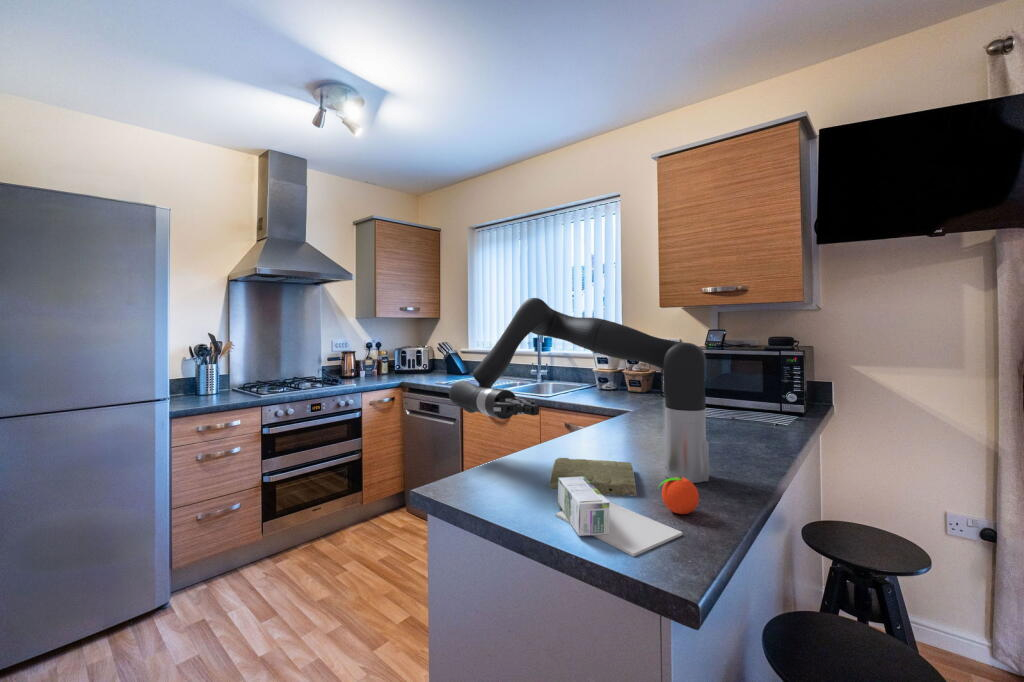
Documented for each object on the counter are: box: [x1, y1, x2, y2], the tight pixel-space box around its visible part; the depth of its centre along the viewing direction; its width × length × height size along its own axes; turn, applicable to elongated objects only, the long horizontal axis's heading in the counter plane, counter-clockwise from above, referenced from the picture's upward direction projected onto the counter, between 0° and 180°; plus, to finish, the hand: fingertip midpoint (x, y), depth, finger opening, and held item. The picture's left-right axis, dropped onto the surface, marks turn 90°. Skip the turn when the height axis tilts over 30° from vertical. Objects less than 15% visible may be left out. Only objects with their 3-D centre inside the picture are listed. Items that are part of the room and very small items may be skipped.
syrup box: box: [557, 476, 611, 537], centre depth 81 cm, size 6×6×14 cm
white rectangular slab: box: [554, 501, 683, 558], centre depth 80 cm, size 19×13×1 cm
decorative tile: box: [549, 457, 638, 497], centre depth 104 cm, size 19×20×4 cm
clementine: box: [657, 477, 700, 515], centre depth 85 cm, size 8×7×7 cm
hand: (536, 410), depth 99 cm, fingers closed
